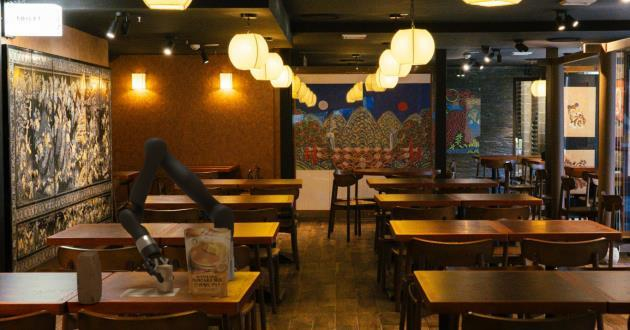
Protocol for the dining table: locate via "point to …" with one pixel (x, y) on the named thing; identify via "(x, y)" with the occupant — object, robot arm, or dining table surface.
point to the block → (89, 277)
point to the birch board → (146, 293)
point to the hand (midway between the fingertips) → (167, 280)
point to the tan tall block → (165, 279)
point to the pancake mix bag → (208, 260)
